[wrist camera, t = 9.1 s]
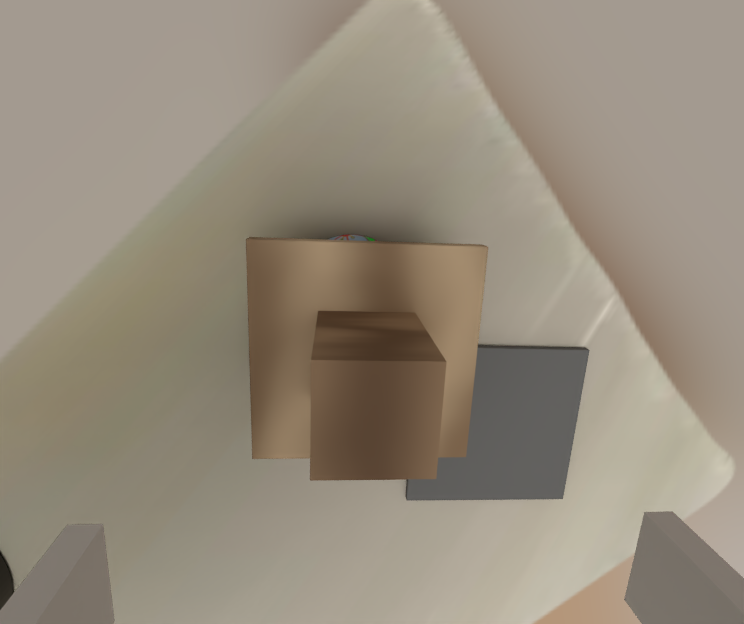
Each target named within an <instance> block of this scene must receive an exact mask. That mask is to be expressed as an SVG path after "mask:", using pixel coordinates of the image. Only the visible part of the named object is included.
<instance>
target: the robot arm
mask: <svg viewBox="0 0 744 624" xmlns="http://www.w3.org/2000/svg"><path fill="white" fill-rule="evenodd" d="M624 600H625V601H626V602H627V604H628V605H629V607H630V608H631V609H632V611H633V612H634V613H635V615H636V616H637V618H638V619H639V620H640V622H641V623H642V624H744V578H743V577H742V576H741V575H739V574H738V573H737V572H736V571H735V570H734V569H733V568H732V567H731V566H730V565H729V564H728V563H727V562H726V561H725V560H723V558H721V557H720V556H719V555H718V554H717V553H716V552H715V551H714V550H713V549H712V548H711V547H710V546H709V545H707V544H706V543H705V542H704V541H703V540H702V539H701V538H700V537H699V536H698V535H697V534H696V533H695V532H694V531H693V530H692V529H690V528H689V527H688V526H687V525H686V524H685V523H684V522H683V521H682V520H681V519H680V518H679V517H678V516H677V515H676V514H674V513H673V512H644V516H643V521H642V525H641V529H640V534H639V538H638V543H637V547H636V551H635V556H634V561H633V564H632V569H631V573H630V577H629V582H628V586H627V590H626V595H625V599H624ZM113 623H114V612H113V604H112V596H111V587H110V579H109V570H108V562H107V553H106V545H105V536H104V528H103V524H75V525H67V526H66V527H65V528H64V529H63V531H62V532H61V533H60V535H59V536H58V537H57V538H56V540H55V541H54V542H53V544H52V545H51V546H50V547H49V549H48V550H47V551H46V552H45V554H44V555H43V556H42V558H41V559H40V560H39V561H38V563H37V564H36V565H35V567H34V568H33V569H32V570H31V572H30V573H29V574H28V576H27V577H26V578H25V579H24V581H23V582H22V583H21V584H20V586H19V587H18V588H17V590H16V591H15V592H14V593H13V588H12V581H11V576H10V573H9V570H8V568H7V566H6V564H5V562H4V560H3V559H2V557H1V555H0V624H113Z"/></svg>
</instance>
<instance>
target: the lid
mask: <svg viewBox="0 0 744 624" xmlns="http://www.w3.org/2000/svg"><path fill="white" fill-rule="evenodd" d="M487 254H488V247H487V246H484V245H476V244H446V243H415V242H385V241H354V240H324V239H293V238H262V237H249V238H247V239H246V256H247V290H248V324H249V358H250V392H251V425H252V459H283V458H310V480H395V479H436V477H437V465H438V457H466V453H467V444H468V434H469V425H470V415H471V406H472V396H473V387H474V377H475V368H476V358H477V349H478V339H479V330H480V320H481V311H482V301H483V292H484V282H485V273H486V263H487Z"/></svg>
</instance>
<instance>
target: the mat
mask: <svg viewBox="0 0 744 624" xmlns="http://www.w3.org/2000/svg"><path fill="white" fill-rule="evenodd" d="M588 355H589V350H588V349H587V348H574V347H525V346H478V349H477V358H476V368H475V377H474V387H473V396H472V406H471V415H470V425H469V434H468V444H467V453H466V457H438V465H437V477H436V479H407V486H406V499H407V500H508V499H563V495H564V489H565V484H566V478H567V472H568V467H569V461H570V456H571V450H572V444H573V439H574V433H575V428H576V422H577V416H578V411H579V405H580V400H581V394H582V388H583V383H584V377H585V372H586V366H587V361H588Z"/></svg>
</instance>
